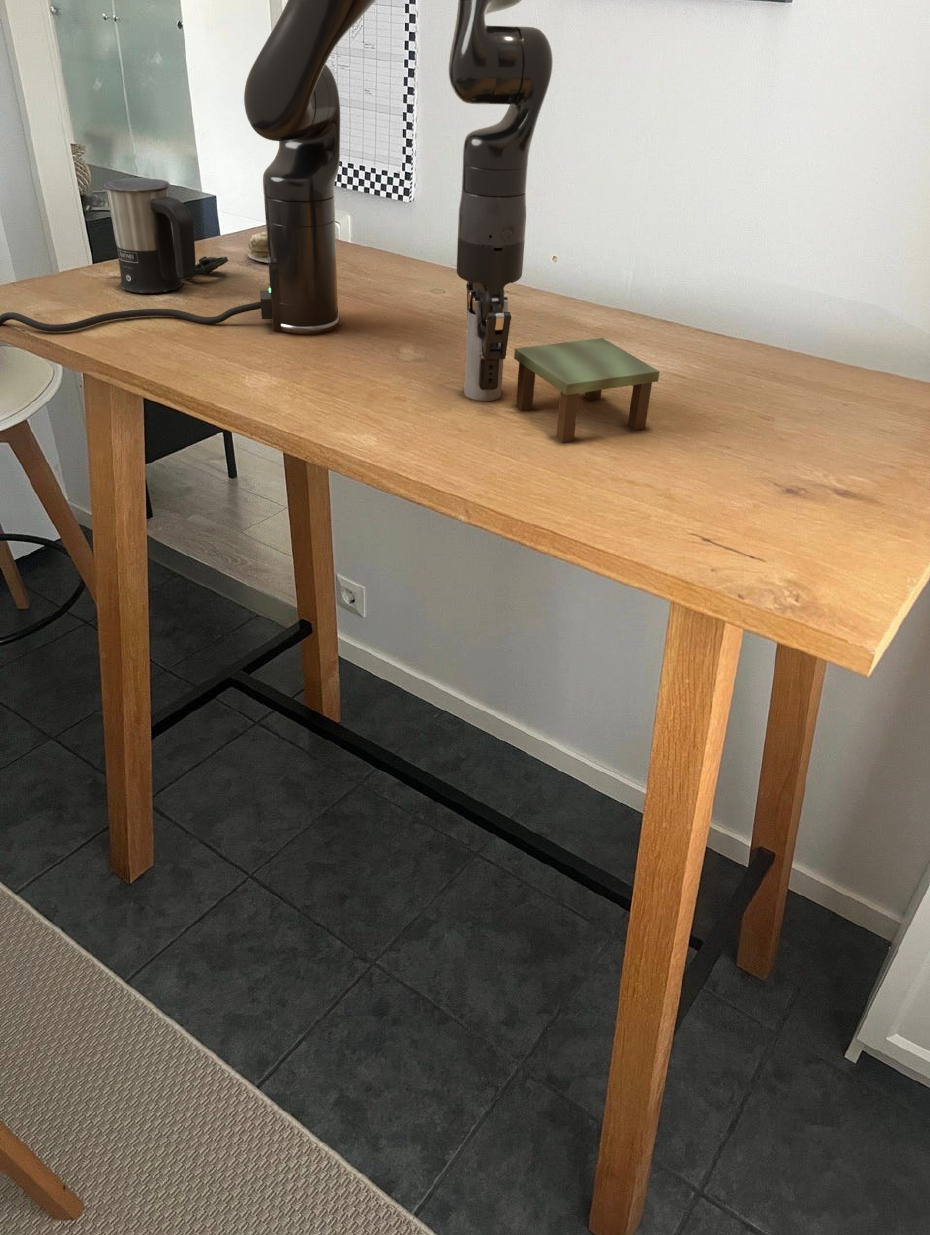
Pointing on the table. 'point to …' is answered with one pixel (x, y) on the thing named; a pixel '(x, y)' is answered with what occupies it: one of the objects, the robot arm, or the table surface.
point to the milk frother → (153, 236)
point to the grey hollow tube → (477, 365)
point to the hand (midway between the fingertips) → (483, 380)
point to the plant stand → (584, 378)
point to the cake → (258, 247)
